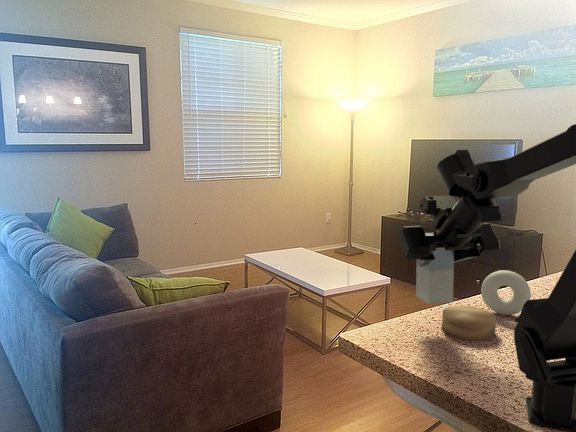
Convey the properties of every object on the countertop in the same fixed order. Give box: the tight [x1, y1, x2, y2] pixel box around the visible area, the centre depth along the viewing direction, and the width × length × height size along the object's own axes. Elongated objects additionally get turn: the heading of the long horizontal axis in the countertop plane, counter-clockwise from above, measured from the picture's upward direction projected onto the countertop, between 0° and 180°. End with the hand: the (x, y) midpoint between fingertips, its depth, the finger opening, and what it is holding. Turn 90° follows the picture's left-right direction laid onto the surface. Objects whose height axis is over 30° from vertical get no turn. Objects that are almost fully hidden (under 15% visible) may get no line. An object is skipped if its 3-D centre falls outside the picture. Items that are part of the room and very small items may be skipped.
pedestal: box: [441, 305, 497, 342], centre depth 95 cm, size 10×10×4 cm
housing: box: [415, 232, 455, 305], centre depth 94 cm, size 5×5×13 cm
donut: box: [480, 269, 532, 316], centre depth 104 cm, size 10×4×10 cm, turn 59°
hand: (431, 263), depth 95 cm, fingers closed on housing, 5 cm apart
